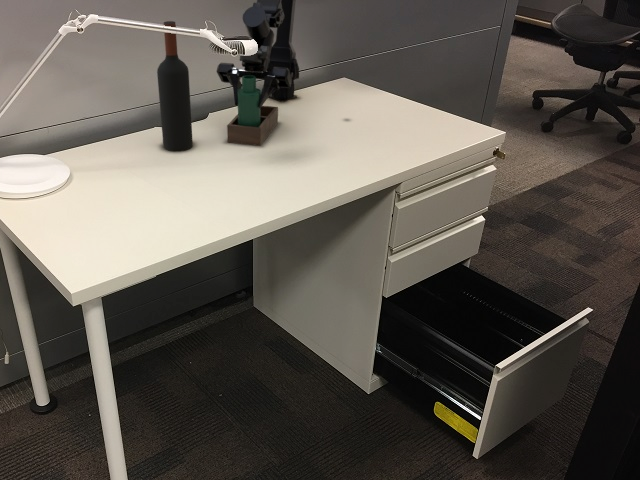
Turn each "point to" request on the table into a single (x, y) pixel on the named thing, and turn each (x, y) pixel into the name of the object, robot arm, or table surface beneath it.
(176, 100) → the wine bottle
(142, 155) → the table surface
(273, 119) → the carrier
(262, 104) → the robot arm
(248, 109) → the bottle
